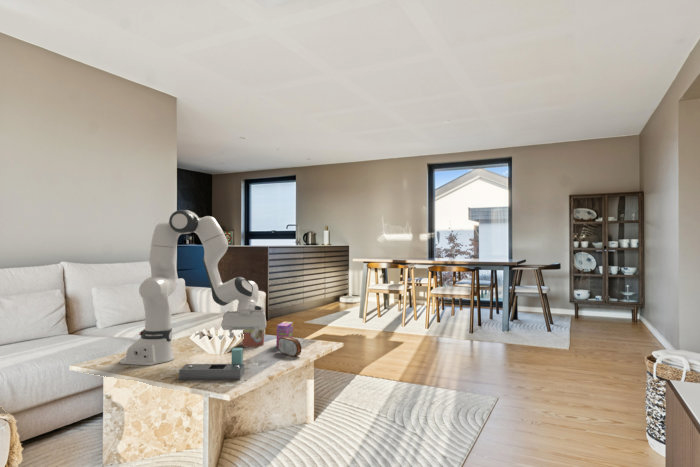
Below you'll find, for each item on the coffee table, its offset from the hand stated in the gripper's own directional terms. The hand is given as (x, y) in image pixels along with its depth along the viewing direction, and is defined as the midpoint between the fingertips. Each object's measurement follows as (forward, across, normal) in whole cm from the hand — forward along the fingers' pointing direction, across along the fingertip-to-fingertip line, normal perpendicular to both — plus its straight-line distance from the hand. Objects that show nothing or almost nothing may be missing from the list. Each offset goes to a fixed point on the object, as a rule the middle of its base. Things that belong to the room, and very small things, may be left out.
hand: (241, 336), depth 190 cm
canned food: (-16, -1, +34) cm, 38 cm away
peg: (+15, 0, +3) cm, 15 cm away
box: (-15, +16, +33) cm, 39 cm away
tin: (-2, +20, +20) cm, 28 cm away
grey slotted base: (+21, -8, -4) cm, 23 cm away
